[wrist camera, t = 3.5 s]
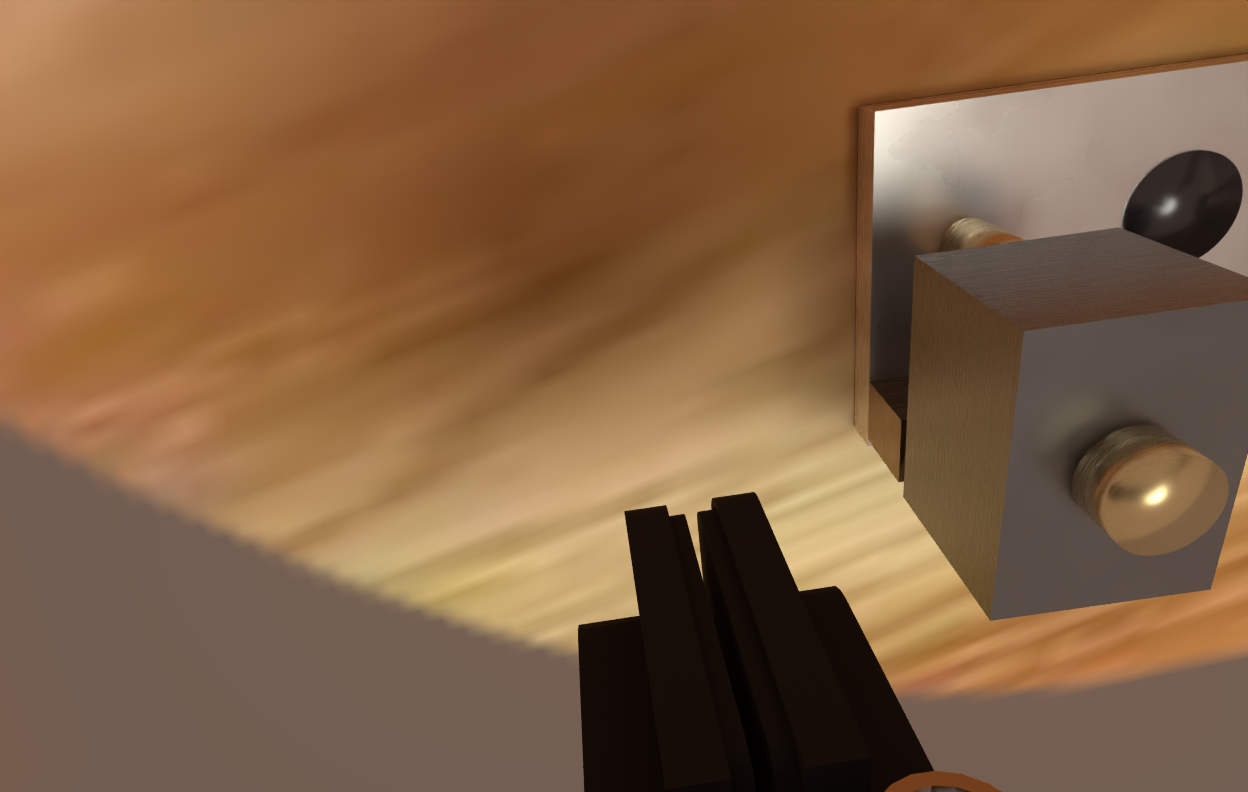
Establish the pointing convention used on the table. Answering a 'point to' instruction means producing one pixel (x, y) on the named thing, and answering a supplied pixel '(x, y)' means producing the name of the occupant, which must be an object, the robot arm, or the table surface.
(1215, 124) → the bolt plate
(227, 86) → the table surface
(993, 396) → the grey block with knob
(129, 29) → the table surface
